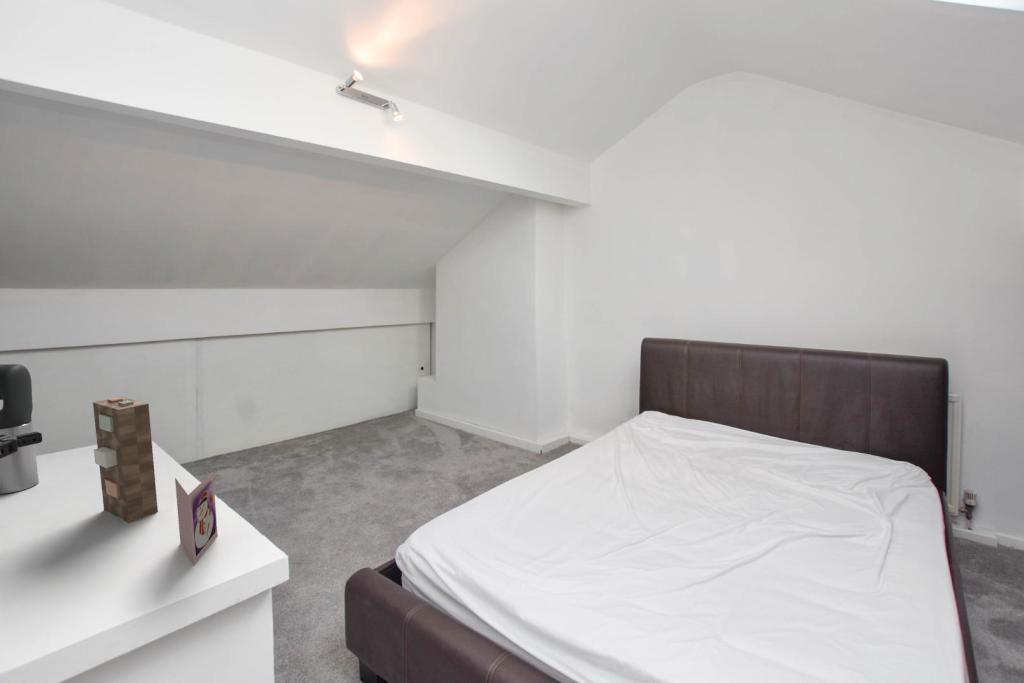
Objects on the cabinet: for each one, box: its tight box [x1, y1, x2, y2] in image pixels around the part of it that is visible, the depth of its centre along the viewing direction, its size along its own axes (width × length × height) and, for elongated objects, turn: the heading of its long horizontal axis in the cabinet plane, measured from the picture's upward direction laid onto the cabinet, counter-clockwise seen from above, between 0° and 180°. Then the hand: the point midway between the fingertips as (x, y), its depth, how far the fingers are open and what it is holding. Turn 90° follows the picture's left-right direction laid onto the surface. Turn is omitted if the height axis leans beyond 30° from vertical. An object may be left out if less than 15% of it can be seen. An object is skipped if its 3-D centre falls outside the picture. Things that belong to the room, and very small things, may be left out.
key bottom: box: [105, 479, 121, 499], centre depth 116 cm, size 5×3×3 cm, turn 62°
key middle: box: [93, 447, 117, 468], centre depth 114 cm, size 5×3×3 cm, turn 62°
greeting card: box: [174, 471, 219, 567], centre depth 101 cm, size 11×7×15 cm, turn 10°
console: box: [92, 396, 159, 523], centre depth 117 cm, size 12×6×28 cm, turn 62°
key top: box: [99, 414, 114, 432], centre depth 114 cm, size 5×3×3 cm, turn 62°
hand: (40, 436), depth 103 cm, fingers closed
